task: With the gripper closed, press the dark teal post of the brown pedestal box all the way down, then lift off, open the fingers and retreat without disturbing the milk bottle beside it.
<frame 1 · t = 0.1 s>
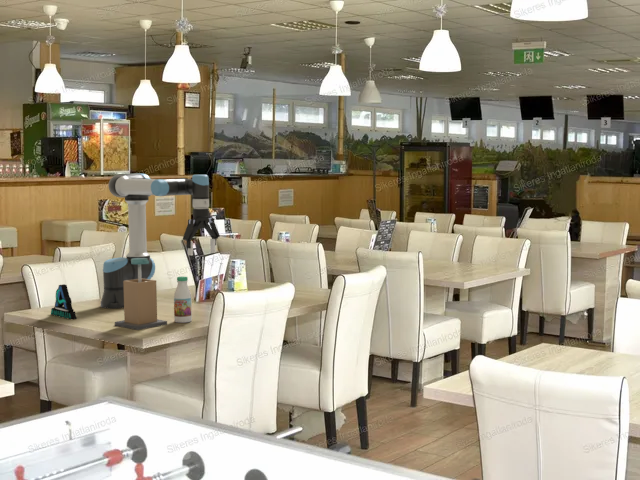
hand: (201, 254, 414), 28 cm above the table, tool pointing down, fingers open, 13 cm apart
brown pedestal box: (141, 324, 390), on the table
decorative sign: (63, 317, 411), on the table
pump plunger: (141, 281, 388), point 19 cm above the table, slide at 0.0 cm
milk bottle: (183, 322, 398), on the table
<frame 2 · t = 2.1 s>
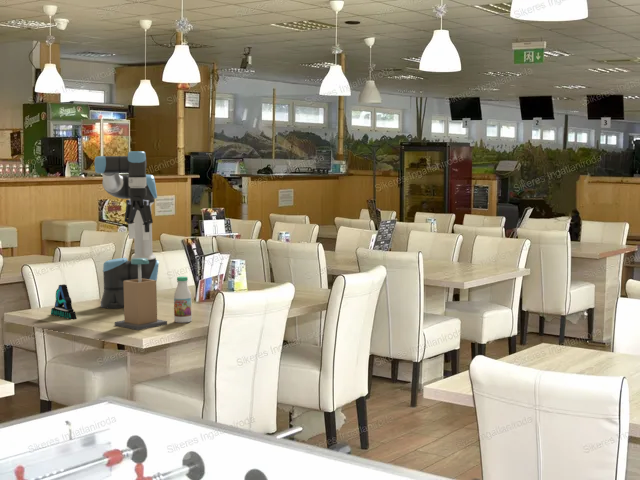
hand: (138, 239, 387), 38 cm above the table, tool pointing down, fingers open, 9 cm apart
nothing on the table moved.
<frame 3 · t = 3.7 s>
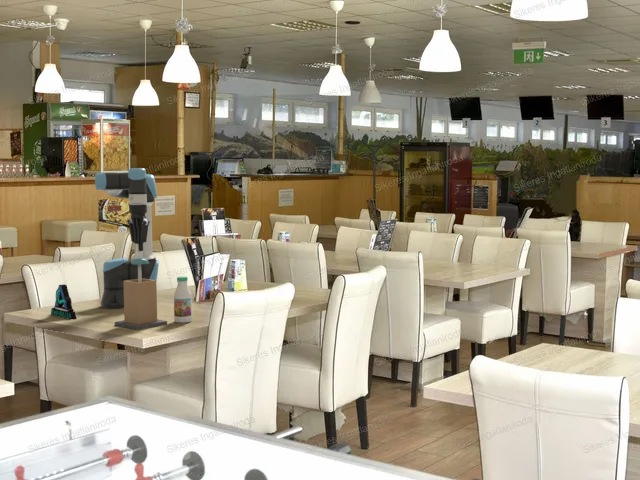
hand: (139, 258, 387), 29 cm above the table, tool pointing down, fingers closed
pump plunger: (141, 281, 388), point 19 cm above the table, slide at 0.1 cm, touching gripper
everything else where it was.
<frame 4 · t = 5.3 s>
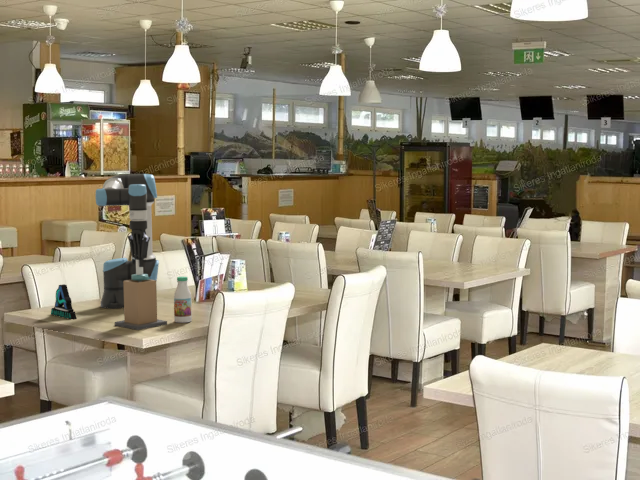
hand: (139, 274, 388), 22 cm above the table, tool pointing down, fingers closed
pump plunger: (141, 297, 388), point 12 cm above the table, slide at 7.0 cm, touching gripper
everything else where it was.
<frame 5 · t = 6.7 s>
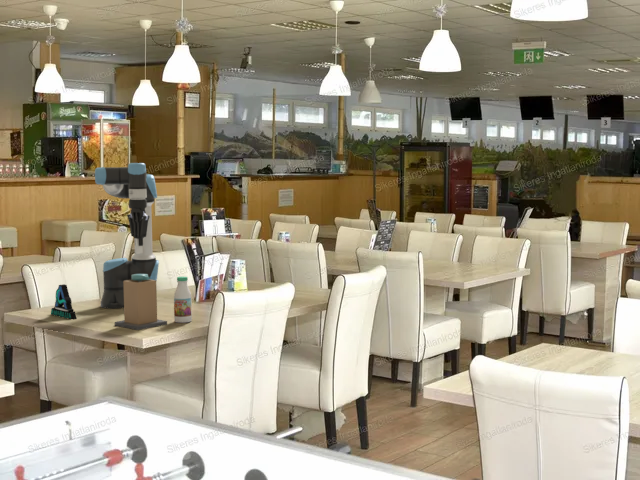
hand: (139, 253, 388), 31 cm above the table, tool pointing down, fingers closed
pump plunger: (141, 297, 388), point 12 cm above the table, slide at 7.0 cm
everything else where it was.
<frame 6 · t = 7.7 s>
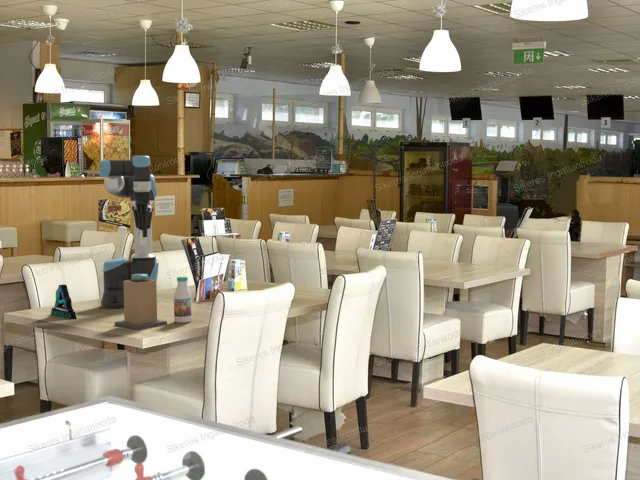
hand: (143, 244, 395), 35 cm above the table, tool pointing down, fingers closed
nothing on the table moved.
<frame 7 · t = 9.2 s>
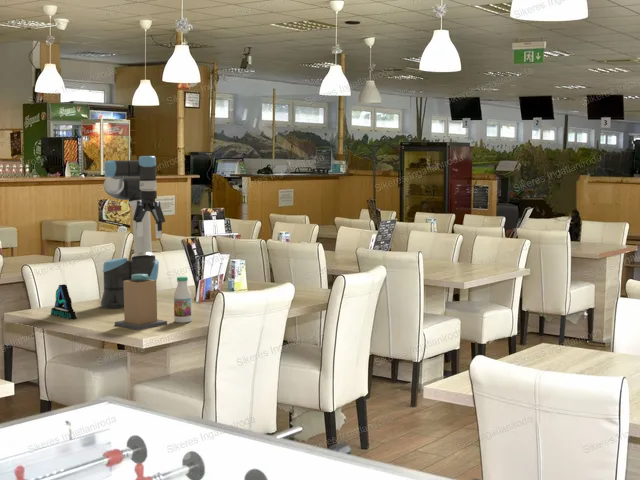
hand: (149, 237, 404), 37 cm above the table, tool pointing down, fingers open, 13 cm apart
nothing on the table moved.
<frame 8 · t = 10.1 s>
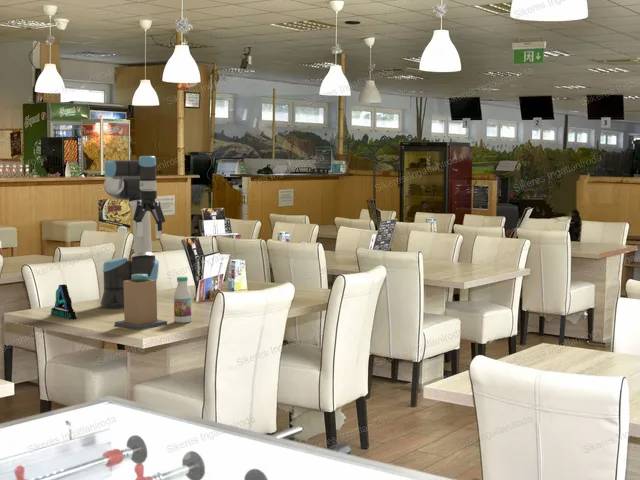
hand: (149, 237, 404), 37 cm above the table, tool pointing down, fingers open, 13 cm apart
nothing on the table moved.
at the end: pump plunger slide at 7.0 cm; milk bottle moved 0.2 cm from its start; milk bottle tilted 0° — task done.
